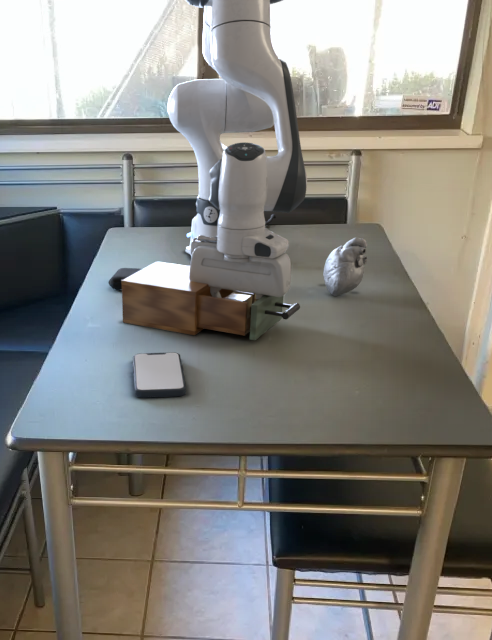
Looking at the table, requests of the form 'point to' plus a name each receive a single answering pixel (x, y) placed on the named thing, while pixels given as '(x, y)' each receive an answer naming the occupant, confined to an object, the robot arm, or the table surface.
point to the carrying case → (121, 277)
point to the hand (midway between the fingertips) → (237, 312)
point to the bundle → (243, 299)
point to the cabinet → (162, 298)
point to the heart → (345, 267)
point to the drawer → (240, 313)
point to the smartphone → (158, 375)
